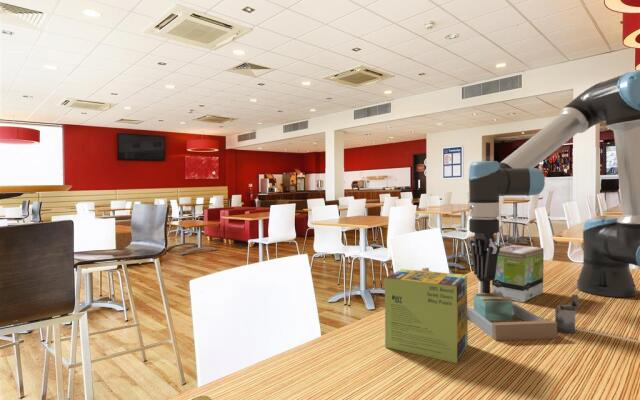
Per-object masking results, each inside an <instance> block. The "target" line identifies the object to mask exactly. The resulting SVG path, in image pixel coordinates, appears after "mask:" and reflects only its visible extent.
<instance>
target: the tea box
mask: <svg viewBox="0 0 640 400" xmlns="http://www.w3.org/2000/svg"><path fill="white" fill-rule="evenodd" d="M544 250H545V249H544V247H538V246H527V245H518V244H511V245H505V246H502V247H500V251H499V253H498V258H497V266H496V274H495V280H491V293H495V292H501V293H503V296H504V297H510V298H511V301H513V302H514V301H515V302H519V303H525V302H526V301H528V300H530V299H533V298H534V297H537V296H539V295H541V294H543V293H544V263H545V262H544V260H545V259H544V256H545V255H544V254H545V253H544V252H545V251H544Z"/></svg>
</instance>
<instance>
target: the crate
mask: <svg viewBox="0 0 640 400" xmlns="http://www.w3.org/2000/svg"><path fill="white" fill-rule="evenodd" d="M512 302H513V300H511V298H510V297H504V296H503V293H501V292H495V293H492V292H490V293H478V292H474V293H473V310H474V311H476V312H477V313H478V314H480V315H481V316H483V317H484V318H485V319H487V320H488V321H489V322H496V321H498V322H507V321H513V314H512Z"/></svg>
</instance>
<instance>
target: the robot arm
mask: <svg viewBox="0 0 640 400" xmlns="http://www.w3.org/2000/svg"><path fill="white" fill-rule="evenodd" d="M604 122H605V125H606V128H607V129H609V130H611V131H613V138H614V146H615V147H614V148H615V157H616V163H617V164H616V166H617V172H618V173H617V174H618V185H619V193H620V203H621V209H622V211H621V212H622V214H621V216H620V217H617V218H614V217H613V218H597V219H596V218H594V219H592V218H591V219H587V220H585V221H584V223H583V229H582V250H583V251H582V253H583V256H582V257H583V262H582V264H583V266H582V267H581V270H580V271H579V276H578V278H577V280H576V288H577V289H578V290H580V291H582V292H585V293H588V294H592V295H595V296H596V295H598V296H602V297H603V296H605V297H613V298H630V297H634V296H636V295H637V286H636V284H635V281H634V278H633V275H632V273H631V270H630V265H634V266H637V267H640V69H638V70H634V71H633V70H632V71H629V72H625V73H623V74H621V75H618V76H616V77H613V78H610V79H607V80H605V81H601V82H599V83H595V84H594V85H592V86H590V87H589V88H587V89H585V90H584V91H583V92H582V93H580V94H579V95H577V97H575V98H574V99H572V101H570V102H569V103H568V104H566V105H565V106H564V107H563V108H562V109H560V111H559V114H558V116H556V117H555V118H554V119H553V120H552V121H551V122H549V123H548V124H546V126H544V127H543V128H542V129H541V130H539V131H538V132H537V133H535V134H534V135H533V136H531V137H530V138H529V139H528V140H526V141H525V142H524V143H523V144H522V145H521V146H519V147H518V148H517V149H516V150H514V151H513V152H512V153H511V154H509V155H507V156H506V157H505V158H504V159H503V160H502V161H500V162H499V161H497V160H494V161H493V160H489V161H488V160H485V161H484V160H482V161H481V160H480V161H473V162H471V163H470V164H469V169H468V191H469V192H468V193H469V194H468V195H469V199H468V200H469V203H468V204H469V205H468V206H467V209H468V210H469V217H471V218H470V219H469V223H468V226H469V227H468V228H469V229H468V230H469V232H470V233H474V237H473V240H469V245H470V248H471V256H472V257H471V259H472V267H473V274H474V276H476V278H477V279H478V280H477V293H491V282H492V280H495V274H496V266H497V258H498V253H499V251H500V248H501V247H500V246H496V244H495V236H494V235H495V234H498V233H499V232H500V220H499V219H498V218H499V217H500V196H501V197H505V196H509V197H511V196H516V197H517V196H520V197H521V196H527V197H530V196H536V195H539V194H541V193H542V192H543V190H544V189H545V184H546V181H545V180H546V179H545V175H544V173H543V171H542V170H541V169H539V168H535V167H536V166H538V165H540V163H542V162H543V161H544V160H545V159H547V158H548V157H549V156H551V155H552V154H553V153H554V152H556V151H557V150H558V149H559V148H561V147H562V146H563V145H565V143H567V142H568V141H569V140H571V139H572V138H574V136H576V135H577V134H583V133H585V132H586V131H588V130H589V129H590V128H592V127H594V126H596V125H598V124H601V123H604Z"/></svg>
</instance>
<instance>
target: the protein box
mask: <svg viewBox="0 0 640 400" xmlns="http://www.w3.org/2000/svg"><path fill="white" fill-rule="evenodd" d="M430 271H431V270H429V271H421V270H419V269H405V268H401V269H400V270H397V271H396V272H394V273H392V274H389V275H388V276H386V277H384V310H385V311H384V321H385V322H384V327H385V328H384V329H385V330H384V331H385V332H384V333H385V334H384V335H385V337H384V338H385V339H384V340H385V341H384V342H385V346H384V347H385V348H387V349H391V350H395V351H400V352H404V353H410V354H413V355H419V356H421V357H425V358H426V357H428V358H431V359H435V360H439V361H440V360H441V361H444V362H450V363H454V364H457V363H458V362H460V359H461V357H462V356H463V354H464V352H465V351H466V349H467V347H468V345H469V335H468V330H469V329H468V326H469V325H468V324H469V323H468V321H469V319H468V318H467V305H468V275H467V274H461V273H460V274H459V273H448V272H440V271H432V272H430Z"/></svg>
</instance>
